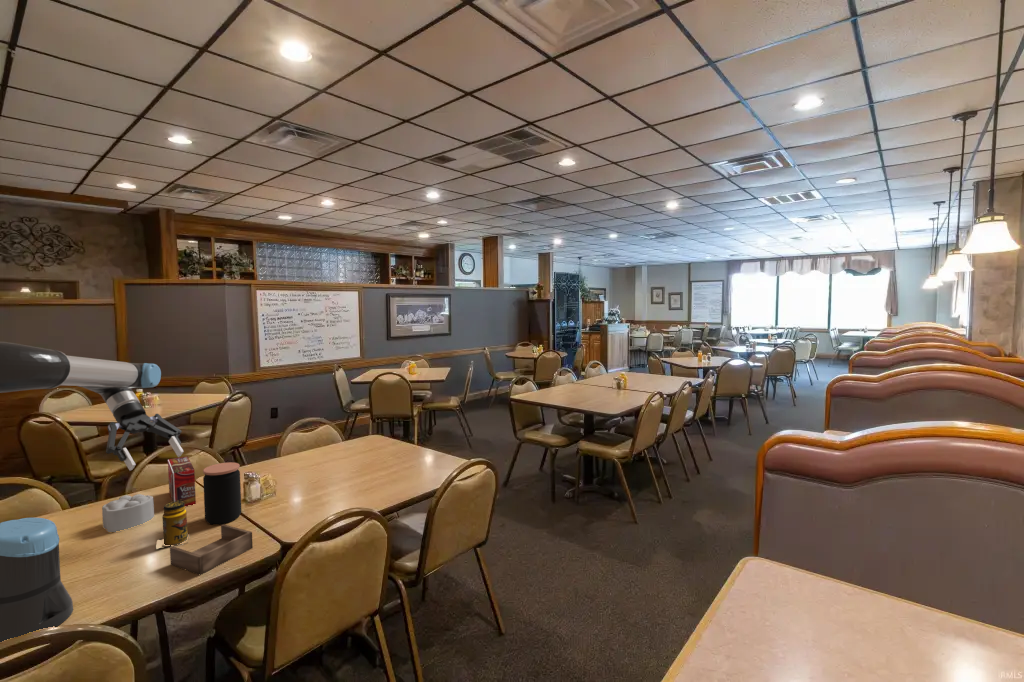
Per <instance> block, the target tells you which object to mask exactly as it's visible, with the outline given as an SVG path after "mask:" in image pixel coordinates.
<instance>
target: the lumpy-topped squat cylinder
mask: <svg viewBox="0 0 1024 682" xmlns="http://www.w3.org/2000/svg"><path fill="white" fill-rule="evenodd" d="M101 510H102V511H101V512H102V513H101V514H102V527H103V529H104V528H105V529H104V530H106V529H107V530H106V532H107V531H108V532H115V533H117V532H116V531H120V530H124V529H127V530H129V529H128V528H131V527H134V526H137V525H140V524H143V523H145V522H147V521H149V520H151V519H152V518H153V517H154V518H155V505H154V497H153V496H152V495H149V494H148V495H145V494H141V493H139V494H138V493H137V494H135V495H133V496H131V495H129V494H125V495H122V496H120V497H119V498H118V499H115V500H112V501H111V500H110V501H109V502H107V503H105V504H104V505H102V508H101ZM154 518H153V519H154ZM153 519H152V520H153ZM152 520H151V521H152ZM149 522H150V521H149ZM147 523H148V522H147ZM145 524H146V523H145ZM143 525H144V524H143ZM140 526H141V525H140ZM137 527H138V526H137ZM134 528H135V527H134ZM131 529H132V528H131ZM124 531H125V530H124ZM108 532H107V533H108ZM120 532H121V531H120Z"/></svg>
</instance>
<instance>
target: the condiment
mask: <svg viewBox="0 0 1024 682" xmlns="http://www.w3.org/2000/svg"><path fill="white" fill-rule="evenodd" d="M187 515H188V513H187V509H186V507H185V503H184V502H183V501H175V502H172V501H171V502H169V503H166V504H164V506H163V515H162V516H161V517H162V534H163V535H162V537H163V538H160V539H159V540H161V539H164V544H165V545H170V546H171V545H177V544H180V543H182V542H184V541H186V540H187V537H188V517H187Z"/></svg>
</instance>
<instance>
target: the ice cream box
mask: <svg viewBox="0 0 1024 682" xmlns="http://www.w3.org/2000/svg"><path fill="white" fill-rule="evenodd" d="M167 469H168V470H167V473H168V492H169V496H171V497H170V500H171V499H172V500H171V502H175V501H183V502H184V503H185V506H187V507H189V506H188V505H191V506H194V505H193V504H196V505H197V500H196V498H197V497H196V477H195V474H196V473H195V468H194V466H193V464H192V462H191V460H190V458H189V457H188V456H187V455H186V456H182V457H181V456H180V457H176V458H175V457H174V458H170V459H167Z"/></svg>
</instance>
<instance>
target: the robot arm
mask: <svg viewBox="0 0 1024 682" xmlns="http://www.w3.org/2000/svg"><path fill="white" fill-rule="evenodd" d="M161 376H162V371H161V368H160V366H158V364H156V363H147V362H144V363H136V362H126V361H119V360H118V361H117V360H109V359H99V358H91V357H84V356H83V357H82V356H75V355H66V353H64V352H62V351H61V350H60V351H59V350H57V349H50V348H46V347H45V348H44V347H38V346H32V345H26V344H21V343H15V342H10V341H9V342H7V341H0V393H1V394H3V393H12V392H19V391H21V392H22V391H29V390H45V389H46V390H51V389H55V388H58V387H60V386H69V387H71V386H76V387H80V388H83V389H86V390H88V391H91V392H94V393H96V394H99V395H100V396H101V397H102V399H103V400H104V403H106V406H107V408H108V409H109V411H110V412H111V414H112V416H113V417H114V419H115V421H116V422H114V421H111V422H110V423H109V424H108V425H107V431H108V437H107V442H106V443H107V444H106V450H105V453H106V454H111V453H112V455H114V456H117V458H118V460H119V461H120V462H123V463H124V464H125V465H126V467H127V469H128V470H129V472H130V471H133V469H135V466H136V465H137V464H136V462H135V461H134V459H133V457H132V456H131V453H130V452H129V450H128V449H127V447H124V445H125V443H126V441H127V439H128V438H129V435H130V434H133V435H135V434H136V435H137V434H139V433H145V432H147V433H153V434H154V435H157V436H160V437H163V438H166V439H168V443H169V445H170V446H171V448H172V449H173V451H174V453H175V455H176V456H177V458H181V456H182V455H183V454H184V452H185V451H184V449H183V447H181V445H182V441H181V440H180V438H179V437H180V435H181V433H182V430H181V429H179V428H178V427H176V426H175V425H174V424H172V423H170V422H169V421H167V420H166V419H164V418H163V417H162V415H160V414H159V413H155V414H154V415H152V416H149V415H147V413H146V410H145V408H144V406H143V405H142V404H141V402H140V400H139V398H138V397H137V395H136V394H135V392H134V390H133V389H147V388H154V387H157V386H158V385H159V383H160V381H161V378H162V377H161ZM118 429H121V430H123V431H124V433H123V435H122V436H121V438H120V440H119V441H118V444H117V445H115V443H116V439H117V438H116V436H117V431H118ZM59 543H60V536H59V534H58V527H57V524H55V522H54V521H53V520H50V519H47V518H43V517H24V518H20V519H11V520H7V521H6V520H5V521H2V522H0V642H2V641H4V640H7V639H10V638H14V637H18V636H21V635H24V634H27V633H29V632H33V631H36V630H39V629H43V628H48V627H53V626H57V627H58V626H60V625H61V624H62V623H64V622H66V620H67V619H69V618H70V616H71V615H72V613H73V610H74V605H73V604H74V603H73V602H74V601H73V598H72V597H71V595H70V593H69V592H68V590H67V588H66V587H65V585H64V584H63V582H62V580H61V579H62V578H61V565H60V564H61V561H60V559H61V558H60V544H59Z"/></svg>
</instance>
